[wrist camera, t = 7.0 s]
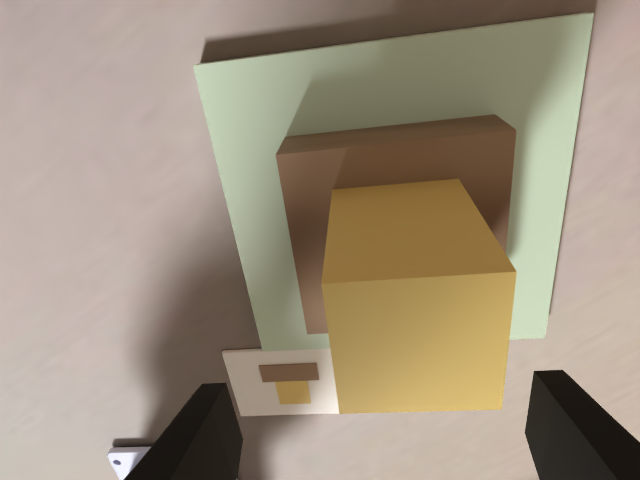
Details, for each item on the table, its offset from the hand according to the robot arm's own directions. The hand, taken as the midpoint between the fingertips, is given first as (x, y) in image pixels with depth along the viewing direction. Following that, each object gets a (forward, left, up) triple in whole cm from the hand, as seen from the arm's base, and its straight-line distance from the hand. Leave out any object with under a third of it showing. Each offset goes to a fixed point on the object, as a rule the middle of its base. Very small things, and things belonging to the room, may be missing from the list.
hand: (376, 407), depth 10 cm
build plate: (0, -1, -10) cm, 10 cm away
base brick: (0, -1, -10) cm, 10 cm away
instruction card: (-10, +5, -10) cm, 15 cm away
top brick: (+1, -1, -7) cm, 7 cm away
